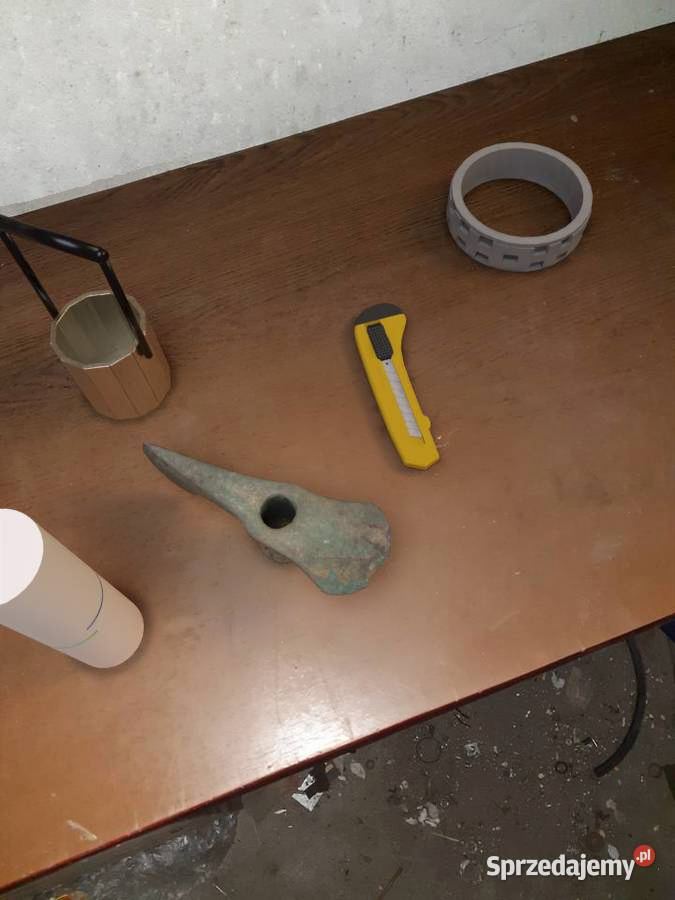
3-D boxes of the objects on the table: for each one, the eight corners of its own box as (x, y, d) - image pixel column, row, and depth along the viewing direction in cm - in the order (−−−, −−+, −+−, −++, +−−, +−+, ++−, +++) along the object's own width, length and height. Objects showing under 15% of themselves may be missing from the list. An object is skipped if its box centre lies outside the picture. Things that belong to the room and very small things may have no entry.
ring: (420, 199, 94) (423, 170, 90) (532, 154, 98) (540, 123, 93) (493, 293, 87) (500, 266, 83) (610, 240, 90) (624, 212, 86)
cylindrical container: (157, 616, 70) (64, 535, 48) (116, 681, 68) (-3, 628, 45) (100, 584, 72) (-16, 492, 49) (58, 647, 69) (-85, 579, 47)
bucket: (194, 366, 84) (153, 434, 80) (106, 334, 86) (62, 399, 82) (134, 211, 61) (73, 295, 57) (17, 174, 63) (-49, 253, 59)
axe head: (137, 519, 75) (107, 483, 66) (184, 447, 79) (162, 404, 70) (361, 632, 69) (361, 609, 60) (401, 549, 73) (407, 515, 64)
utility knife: (397, 305, 87) (398, 295, 85) (461, 461, 77) (464, 453, 75) (345, 319, 86) (344, 309, 84) (403, 477, 76) (404, 470, 75)
